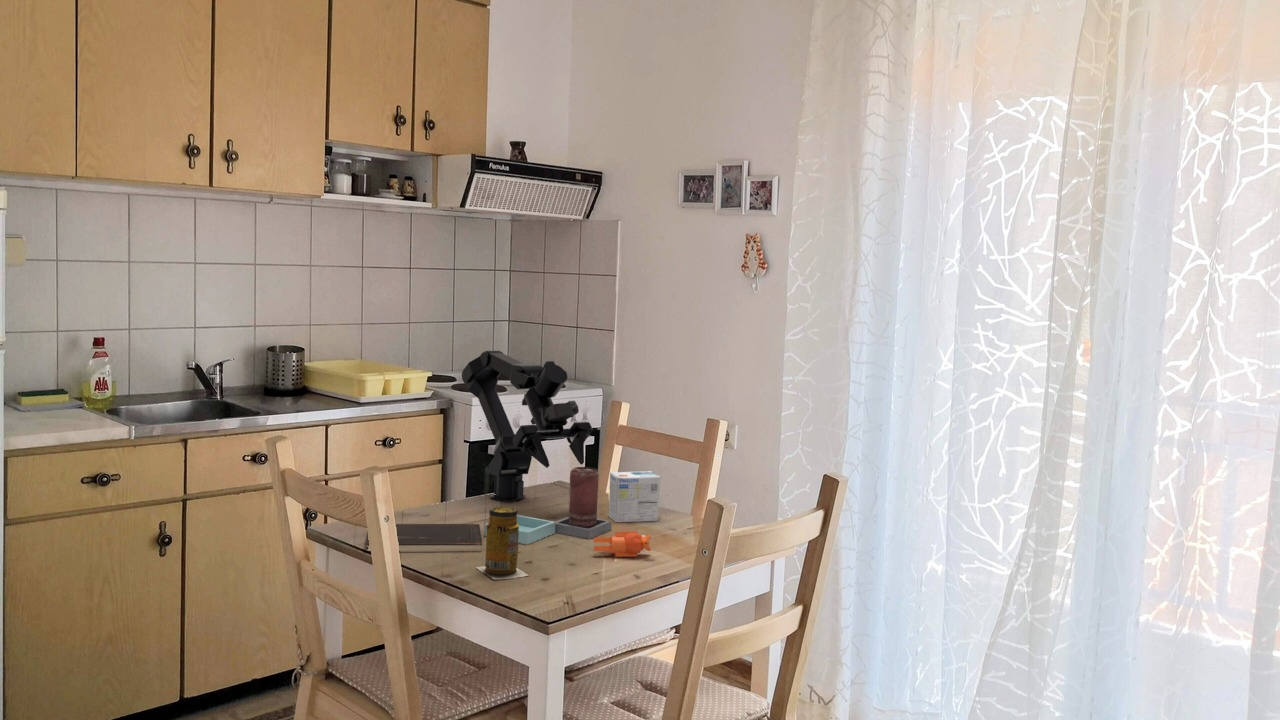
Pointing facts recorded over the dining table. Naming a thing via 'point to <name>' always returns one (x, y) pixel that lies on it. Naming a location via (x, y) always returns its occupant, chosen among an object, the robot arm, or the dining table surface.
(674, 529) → the dining table surface
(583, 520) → the can
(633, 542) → the orange toy figure
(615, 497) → the light bulb box
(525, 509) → the dining table surface
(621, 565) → the dining table surface
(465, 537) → the hardcover book
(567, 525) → the grey square tray
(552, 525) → the tray
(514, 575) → the condiment
